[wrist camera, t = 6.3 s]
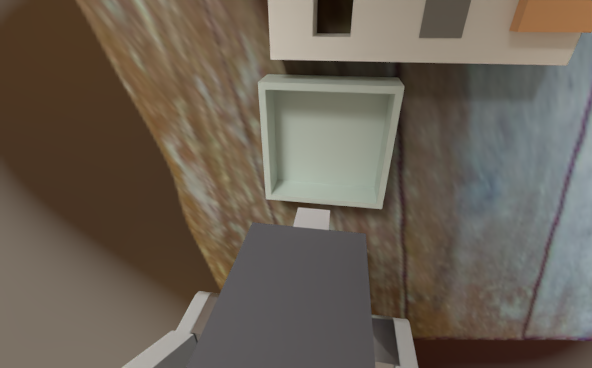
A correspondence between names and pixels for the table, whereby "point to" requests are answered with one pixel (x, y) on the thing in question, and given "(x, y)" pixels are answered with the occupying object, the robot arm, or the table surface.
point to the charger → (293, 301)
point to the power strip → (434, 31)
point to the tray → (328, 137)
